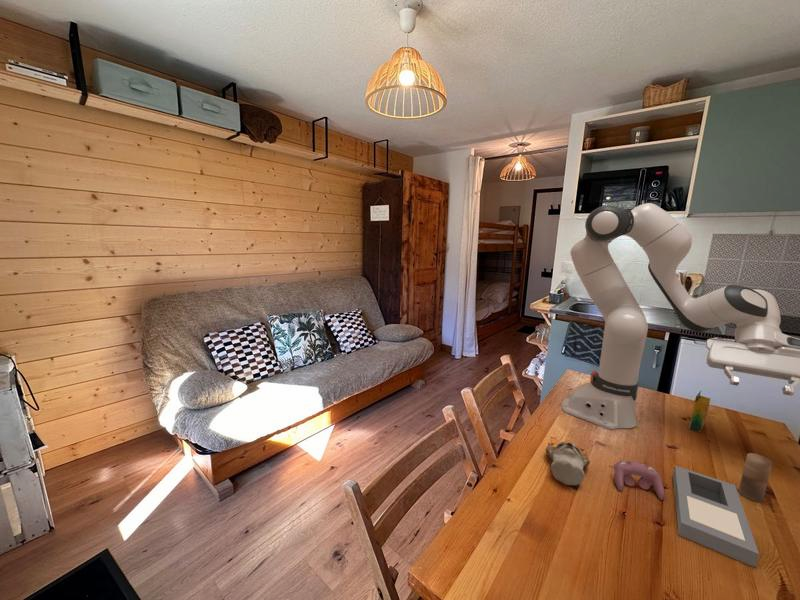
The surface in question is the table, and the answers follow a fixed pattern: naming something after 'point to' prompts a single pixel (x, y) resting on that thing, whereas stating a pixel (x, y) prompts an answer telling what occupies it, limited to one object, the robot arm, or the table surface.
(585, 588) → the table surface
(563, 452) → the ceramic sculpture
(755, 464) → the walnut peg
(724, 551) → the hole board
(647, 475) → the video game controller
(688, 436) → the table surface
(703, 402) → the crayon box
